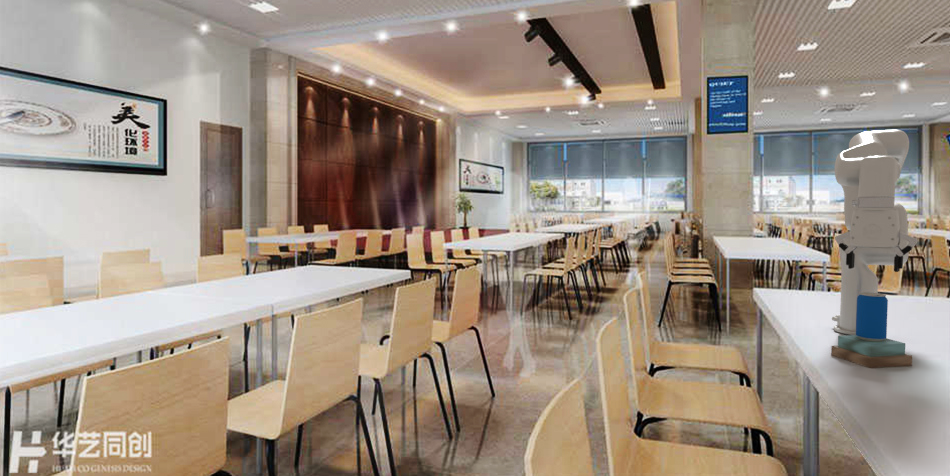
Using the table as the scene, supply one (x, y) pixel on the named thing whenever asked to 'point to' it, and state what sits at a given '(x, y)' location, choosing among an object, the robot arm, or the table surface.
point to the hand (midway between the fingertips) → (873, 269)
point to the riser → (871, 352)
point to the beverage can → (871, 316)
